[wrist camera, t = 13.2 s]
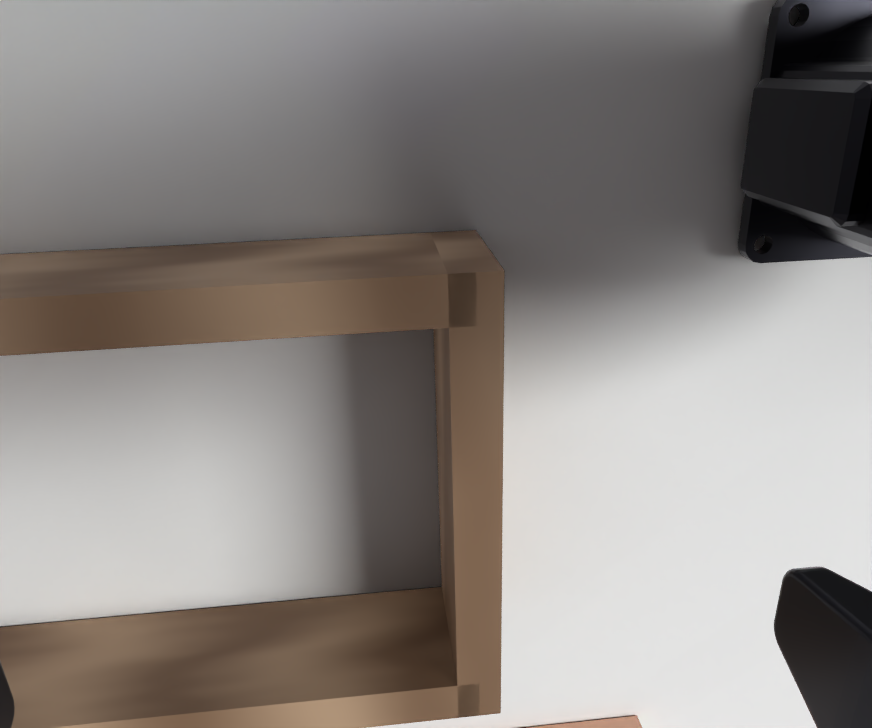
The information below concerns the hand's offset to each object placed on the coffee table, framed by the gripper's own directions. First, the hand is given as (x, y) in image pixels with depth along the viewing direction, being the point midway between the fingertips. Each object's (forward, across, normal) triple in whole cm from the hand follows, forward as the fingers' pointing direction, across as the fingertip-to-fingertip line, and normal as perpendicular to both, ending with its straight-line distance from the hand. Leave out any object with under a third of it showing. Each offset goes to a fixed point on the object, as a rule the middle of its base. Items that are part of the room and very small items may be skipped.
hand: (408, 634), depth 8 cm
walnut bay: (+12, +6, +4) cm, 14 cm away
